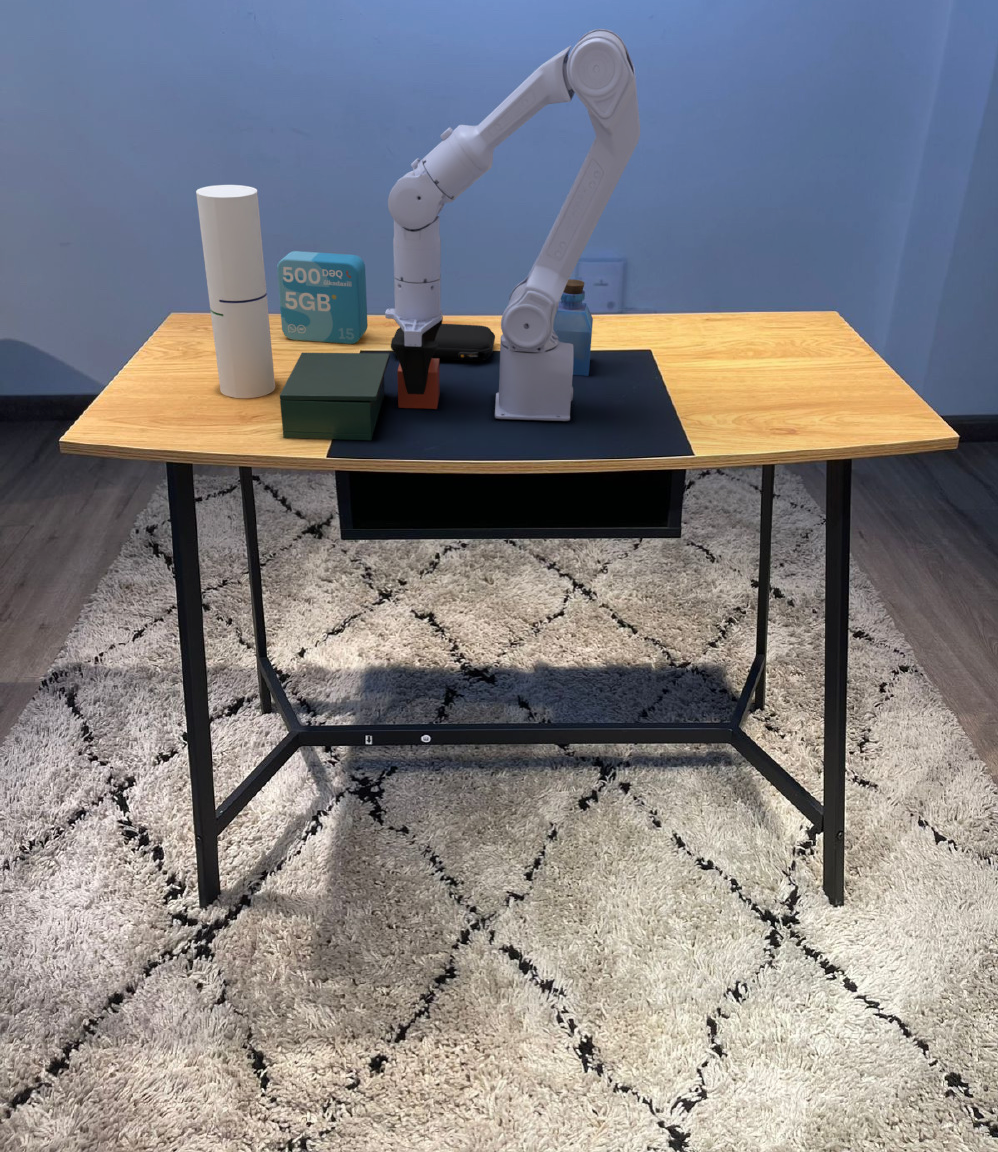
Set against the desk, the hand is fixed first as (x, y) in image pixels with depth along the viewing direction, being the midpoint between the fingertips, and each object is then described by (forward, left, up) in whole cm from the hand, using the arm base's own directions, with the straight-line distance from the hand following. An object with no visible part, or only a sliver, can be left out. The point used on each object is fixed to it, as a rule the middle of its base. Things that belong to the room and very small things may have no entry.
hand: (418, 382), depth 132 cm
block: (0, 0, -3) cm, 3 cm away
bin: (+10, +6, -3) cm, 12 cm away
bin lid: (+10, +6, +2) cm, 11 cm away
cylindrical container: (+23, -2, -3) cm, 23 cm away
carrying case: (-2, -18, -3) cm, 19 cm away
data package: (+16, -23, -3) cm, 29 cm away
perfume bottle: (-20, -14, -3) cm, 25 cm away
